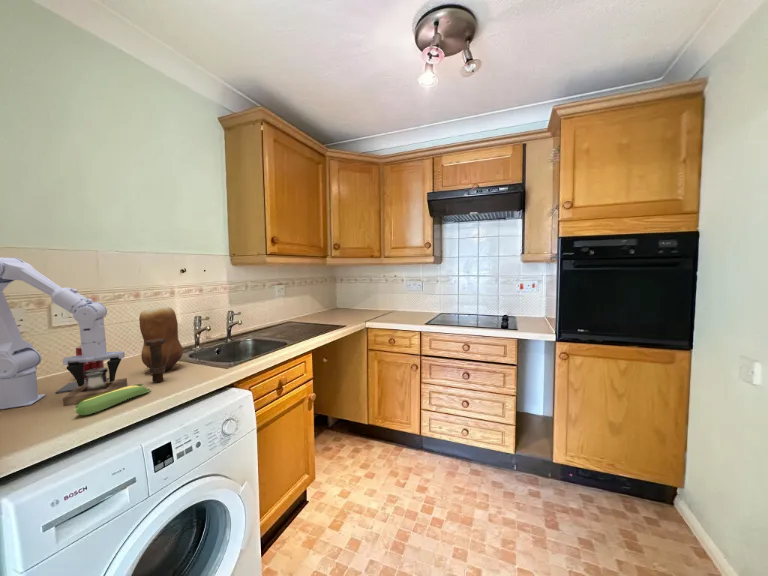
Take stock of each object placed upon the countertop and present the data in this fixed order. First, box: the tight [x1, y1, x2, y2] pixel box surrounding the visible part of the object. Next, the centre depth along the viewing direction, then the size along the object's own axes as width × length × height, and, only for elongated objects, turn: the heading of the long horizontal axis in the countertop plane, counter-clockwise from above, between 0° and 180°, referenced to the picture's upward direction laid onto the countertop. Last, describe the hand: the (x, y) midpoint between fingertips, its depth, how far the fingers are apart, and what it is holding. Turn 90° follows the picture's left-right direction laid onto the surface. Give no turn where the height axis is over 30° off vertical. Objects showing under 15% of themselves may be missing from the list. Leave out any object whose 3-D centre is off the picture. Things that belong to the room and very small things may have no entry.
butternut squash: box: [138, 306, 184, 371], centre depth 123 cm, size 14×13×25 cm
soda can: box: [75, 345, 105, 381], centre depth 117 cm, size 7×7×12 cm
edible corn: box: [73, 383, 152, 416], centre depth 93 cm, size 5×20×5 cm, turn 161°
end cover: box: [84, 367, 109, 391], centre depth 100 cm, size 6×6×8 cm
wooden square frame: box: [62, 377, 128, 407], centre depth 100 cm, size 12×12×2 cm
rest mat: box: [55, 377, 109, 395], centre depth 108 cm, size 11×9×1 cm
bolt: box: [145, 338, 166, 384], centre depth 111 cm, size 6×5×15 cm
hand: (97, 383), depth 100 cm, fingers open, 7 cm apart
